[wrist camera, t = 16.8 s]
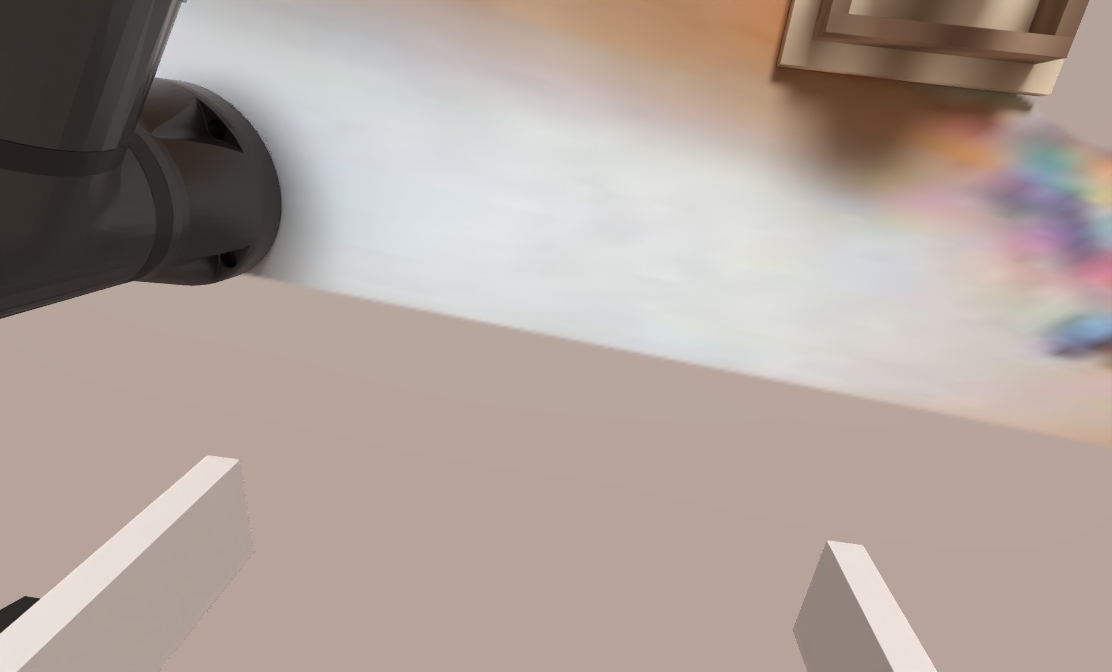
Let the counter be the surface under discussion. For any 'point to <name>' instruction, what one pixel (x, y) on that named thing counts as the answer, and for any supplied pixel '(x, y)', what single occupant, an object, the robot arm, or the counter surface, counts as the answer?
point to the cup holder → (936, 41)
